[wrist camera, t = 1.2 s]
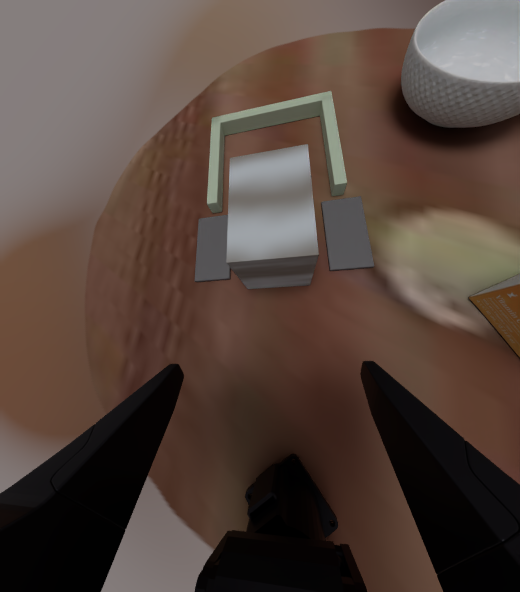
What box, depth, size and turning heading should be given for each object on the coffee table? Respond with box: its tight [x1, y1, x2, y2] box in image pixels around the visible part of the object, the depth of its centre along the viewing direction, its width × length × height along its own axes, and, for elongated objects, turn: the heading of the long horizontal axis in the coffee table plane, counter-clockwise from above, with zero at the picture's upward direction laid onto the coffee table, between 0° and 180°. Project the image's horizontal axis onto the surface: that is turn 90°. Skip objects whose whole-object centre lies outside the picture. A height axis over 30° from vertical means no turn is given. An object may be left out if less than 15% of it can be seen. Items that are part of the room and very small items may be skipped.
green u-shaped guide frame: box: [195, 91, 374, 282], centre depth 27 cm, size 28×23×2 cm
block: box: [226, 144, 319, 289], centre depth 22 cm, size 12×8×8 cm, turn 1°
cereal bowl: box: [401, 0, 520, 128], centre depth 23 cm, size 17×17×7 cm
